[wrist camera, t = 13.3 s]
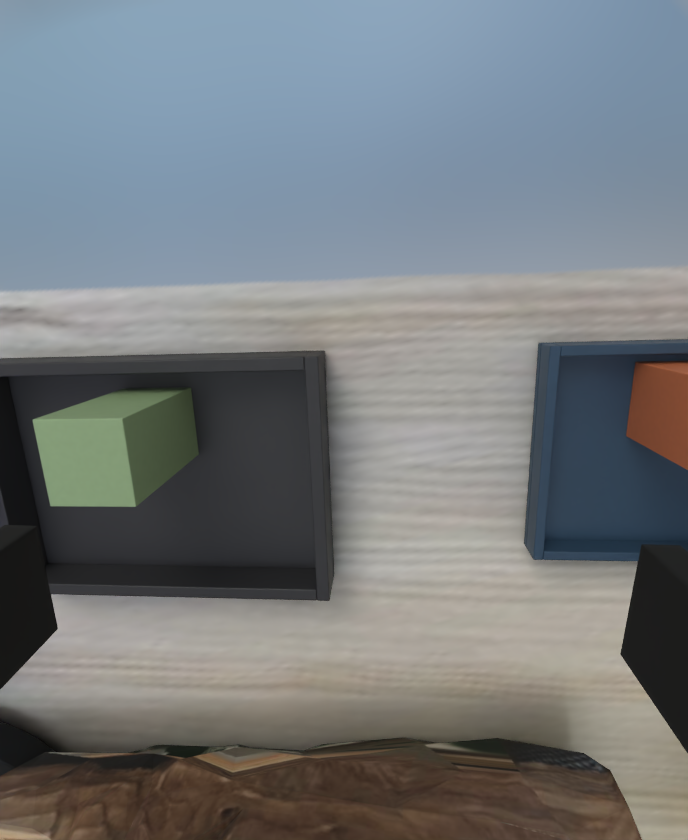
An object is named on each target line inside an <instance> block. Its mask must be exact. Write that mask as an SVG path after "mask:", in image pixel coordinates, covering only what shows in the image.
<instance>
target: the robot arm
mask: <svg viewBox="0 0 688 840" xmlns="http://www.w3.org/2000/svg"><path fill="white" fill-rule="evenodd" d="M57 629H58V628H57V623H56V618H55V613H54V608H53V603H52V598H51V593H50V588H49V583H48V578H47V573H46V568H45V563H44V558H43V553H42V548H41V544H40V539H39V534H38V529H37V526H24V525H4V526H2V527H1V528H0V689H1V688H2V687H3V686H4V685H5V684H6V683H7V682H8V681H9V680H10V679H11V678H12V676H13V675H14V674H15V673H16V672H17V671H18V670H19V669H20V668H21V667H22V666H23V665H24V664H25V663H26V662H27V661H28V660H29V659H30V657H31V656H32V655H33V654H34V653H35V652H36V651H37V650H38V649H39V648H40V647H41V646H42V645H43V644H44V643H45V642H46V641H47V640H48V638H49V637H50V636H51V635H52V634H53V633H54V632H55V631H56V630H57ZM621 656H622V657H623V659H624V660H625V662H626V663H627V664H628V666H629V667H630V669H631V670H632V672H633V673H634V675H635V676H636V678H637V679H638V681H639V682H640V684H641V685H642V687H643V688H644V690H645V691H646V693H647V694H648V695H649V697H650V698H651V700H652V701H653V703H654V704H655V706H656V707H657V709H658V710H659V712H660V713H661V715H662V716H663V718H664V719H665V721H666V722H667V723H668V725H669V726H670V728H671V729H672V731H673V732H674V734H675V735H676V737H677V738H678V740H679V741H680V743H681V744H682V746H683V747H684V749H685V750H686V752H687V753H688V551H686V550H685V549H684V548H683V547H682V546H680V545H654V544H641V549H640V554H639V560H638V565H637V570H636V575H635V581H634V586H633V591H632V597H631V602H630V607H629V612H628V618H627V623H626V628H625V634H624V639H623V644H622V649H621Z"/></svg>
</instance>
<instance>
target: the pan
mask: <svg viewBox="0 0 688 840" xmlns="http://www.w3.org/2000/svg"><path fill="white" fill-rule="evenodd" d="M185 387H190V388H191V392H192V400H193V409H194V417H195V426H196V435H197V443H198V452H199V455H198V456H196V457H195V458H194V459H193V460H192V461H190V462H189V463H188V464H187V465H186V466H184V467H183V468H182V469H181V470H180V471H178V472H177V473H176V474H175V475H174V476H172V477H171V478H170V479H169V480H168V481H166V482H165V483H164V484H163V485H162V486H160V487H159V488H158V489H157V490H156V491H154V492H153V493H152V494H151V495H150V496H148V497H147V498H146V499H145V500H144V501H142V502H141V503H140V504H139V505H138V506H136V507H79V506H50V502H49V497H48V493H47V488H46V483H45V478H44V473H43V468H42V464H41V459H40V454H39V449H38V444H37V440H36V435H35V430H34V425H33V419H36V418H39V417H42V416H44V415H47V414H50V413H53V412H56V411H59V410H62V409H65V408H68V407H71V406H74V405H77V404H80V403H83V402H86V401H89V400H92V399H95V398H98V397H101V396H104V395H107V394H109V393H112V392H115V391H118V390H121V389H128V388H185ZM4 525H24V526H37V529H38V534H39V539H40V544H41V548H42V553H43V558H44V563H45V568H46V573H47V578H48V583H49V588H50V593H51V594H72V595H115V596H157V597H199V598H242V599H284V600H320V601H329V600H330V594H331V589H332V583H333V577H334V559H333V535H332V512H331V488H330V465H329V441H328V418H327V394H326V371H325V351H291V352H250V353H209V354H168V355H127V356H86V357H44V358H3V359H0V528H1V527H2V526H4Z"/></svg>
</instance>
